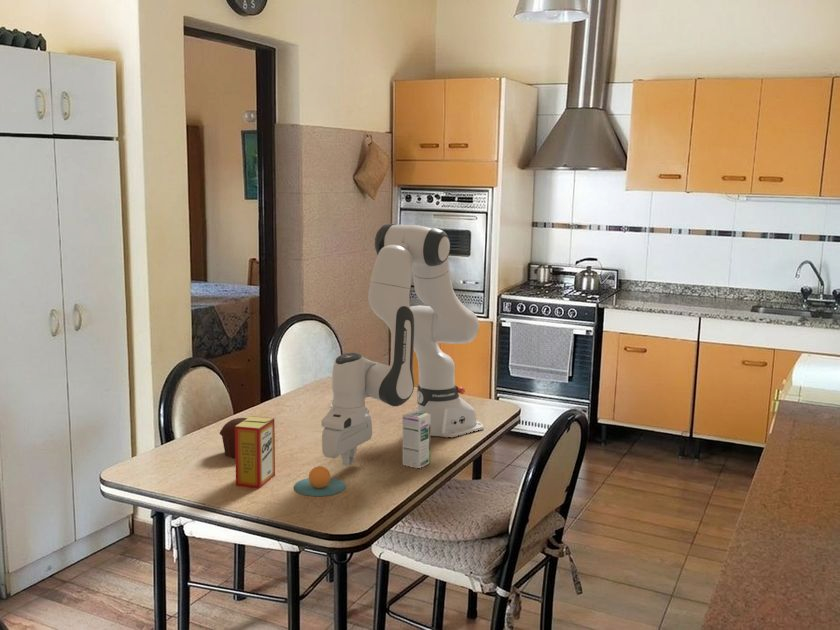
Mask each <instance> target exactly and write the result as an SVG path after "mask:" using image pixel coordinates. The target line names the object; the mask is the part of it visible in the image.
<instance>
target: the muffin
mask: <svg viewBox="0 0 840 630" xmlns="http://www.w3.org/2000/svg"><path fill="white" fill-rule="evenodd" d="M248 418H249V417H247V418H245V417H237V418H233V419H230V420H229V421H227V422H226V423H225V424H224V425H223V426H222V428H221V430H220V431H219V434H220V436H221V439H222V443H223V448H224V454H225V457H227V456H228V458H229V459H235V426H236V425H238V424H239V423H241V422H243V421H244V420H246V419H248Z"/></svg>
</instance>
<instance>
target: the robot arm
mask: <svg viewBox="0 0 840 630" xmlns="http://www.w3.org/2000/svg"><path fill="white" fill-rule="evenodd" d="M374 249H375V253H376V254H377V257H376V259H375V262H374V266H373V268H372V272H371V277H370V282H369V285H368V286H369V288H368V293H367V295H368V296H367V300H368V305H369V307H370V309H371V310H372V312H373V313H374V314H375V315H376V316H377V317H378V318H379V319H381V321H383V322H384V323H385V324H386V325H387V327H388V329H389V330H390V334H391V348H390V349H391V350H390V364H389V365H388V364H384V363H381V362H376V361H373V360H370V359H369V358H365V357H364V356H363V355H362V354H361V353H358V352H347V353H343V354H340V355H339V356H337V357H336V358H335V360H334V362H333V366H332V372H331V373H332V374H331V390H332V393H333V396H332V401H331V405H332V407H331V408H330V409H329V411H328V412H327V413H326V415H325V416H324V417H323V418H322V419H321V427H322V428H323V430H322V433H321V434H322V435H321V450H322V451H321V452H322V454H323V456H324V457H326V458H329V459H337V458H338V457H340V456H341V459H342V465H343V466H345V467H348V466H350V465H353V464H354V463H355V455H356V452H357V447H359V446H360V445H362V444H364V443H366V442H368V441H369V440H371V439H372V436H373V424H372V423H373V422H372V416H371V415H370V410H369V409H368V408H367V407H366V398H371V399H374V400H377V401H380V402H383V403H384V404H387V405H390V406H392V407H400V406H402V405H404V404H405V403H407V401H408V400H410V398H411V397H412V395H413V393H414V389H415V378H414V370H413V369H414V368H413V365H414V362H413V361H414V352H415V355H416V358H417V363H418V384H417V388H416V389H417V391H416V392H417V393H416V397H417V398H416V399H417V407H416V409H417V410H416V411H423V412H427V413H430V414H431V436H432V437H443V438H448V437H451V438H454V437H458V435H459V436H463V435H466V433H467V434H471V433H474V432H473V431H475V432H479V431H481V430H484V429H483V428H484V424H483V423H482V422H481V421H479V420H477V414H476V411H475V408H474V407H473V406H472V405H470V404H469V403H468V402H467V401H465V400H464V399H463V398H462V397H461V396H460V395H459V394H461V395H464V394H465V393H466V389H465V387H462V386H458V385H456V384H455V376H456V375H455V374H456V373H455V371H456V370H455V368H456V367H455V366H456V365H455V362H454V360H453V358H452V357H451V356H450V355H449V354H446V352H444V351H442V350H441V348H440V346H439V344H442V343H443V344H453V345H459V344H468V343H472V342H473V341H474V340H475V339H476V337H477V336H478V334H479V332H480V331H479V330H480V322H479V319H478V316H477V315H476V313H474V311H473V310H471V309H469V308H467V306H466V305H464V304H463V303H462V301H461V300H460V299H459V298H458V296H457V295H456V292H455V291H454V288H453V283H452V278H451V272H450V264H449V259H448V258H449V255H450V252H451V251H450V250H451V240H450V237H449V236H448V234H447V233H446V232H445V231H444V230H442V229H440V228H436V227H428V226H423V225H418V224H397V223H388V224H383V225H382V226H381V227H380V228H379V229H378V230H377V231H376V233H375V237H374ZM412 278H413V285H414V286H413V287H414V292H415V294H416V297H417V298H418V299H419V300H420V301H421V302H422V303H424V304H426V305H421V304H419V305H412V306H411V303H410V292H411V286H412ZM478 430H479V431H478ZM470 432H471V433H470Z"/></svg>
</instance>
